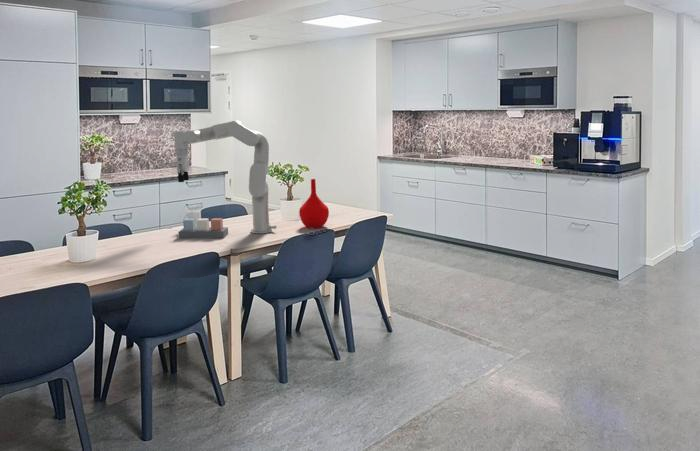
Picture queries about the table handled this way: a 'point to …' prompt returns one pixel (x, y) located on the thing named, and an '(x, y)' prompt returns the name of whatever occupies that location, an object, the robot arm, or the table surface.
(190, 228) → the key blue
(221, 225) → the key brick
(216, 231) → the console
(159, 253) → the table surface
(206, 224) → the key ivory
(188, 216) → the mug
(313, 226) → the vase
